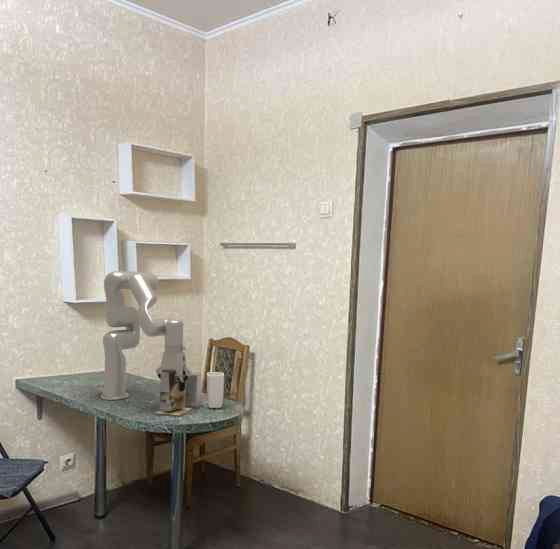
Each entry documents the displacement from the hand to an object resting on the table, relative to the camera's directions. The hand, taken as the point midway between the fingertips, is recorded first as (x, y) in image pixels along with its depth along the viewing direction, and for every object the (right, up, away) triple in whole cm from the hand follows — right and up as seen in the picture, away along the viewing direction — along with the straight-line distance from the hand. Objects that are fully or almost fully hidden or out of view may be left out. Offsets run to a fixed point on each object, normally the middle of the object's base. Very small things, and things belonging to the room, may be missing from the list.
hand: (173, 390), depth 206 cm
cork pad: (0, -9, 0) cm, 9 cm away
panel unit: (+5, -9, +10) cm, 14 cm away
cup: (+17, -10, +8) cm, 21 cm away
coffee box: (0, -8, 0) cm, 8 cm away
